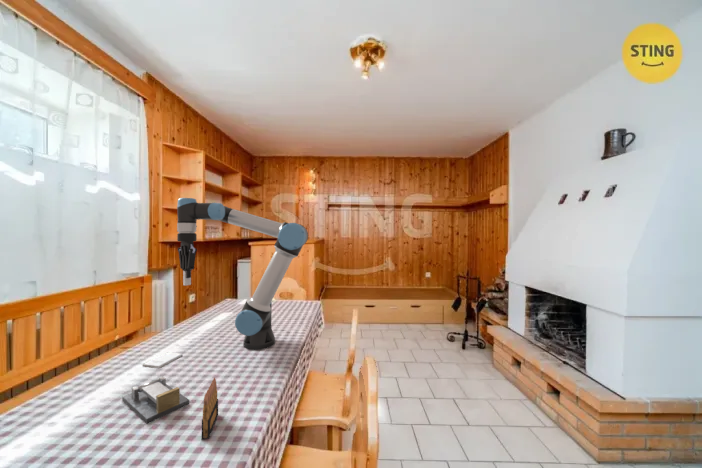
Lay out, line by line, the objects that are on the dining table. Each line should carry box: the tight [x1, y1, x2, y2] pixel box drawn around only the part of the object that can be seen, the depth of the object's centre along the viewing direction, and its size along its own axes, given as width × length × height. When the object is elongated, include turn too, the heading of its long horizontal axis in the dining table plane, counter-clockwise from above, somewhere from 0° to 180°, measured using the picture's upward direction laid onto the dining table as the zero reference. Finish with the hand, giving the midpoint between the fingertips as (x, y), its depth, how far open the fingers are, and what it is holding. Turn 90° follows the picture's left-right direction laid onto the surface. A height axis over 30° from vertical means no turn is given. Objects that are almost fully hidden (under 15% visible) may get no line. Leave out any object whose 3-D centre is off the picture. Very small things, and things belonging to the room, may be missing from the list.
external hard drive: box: [141, 351, 183, 369], centre depth 127 cm, size 2×8×12 cm
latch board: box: [121, 376, 190, 425], centre depth 95 cm, size 20×12×6 cm, turn 55°
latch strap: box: [137, 378, 169, 403], centre depth 95 cm, size 2×6×14 cm
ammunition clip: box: [201, 377, 219, 440], centre depth 84 cm, size 11×2×12 cm, turn 12°
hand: (187, 284), depth 131 cm, fingers closed
